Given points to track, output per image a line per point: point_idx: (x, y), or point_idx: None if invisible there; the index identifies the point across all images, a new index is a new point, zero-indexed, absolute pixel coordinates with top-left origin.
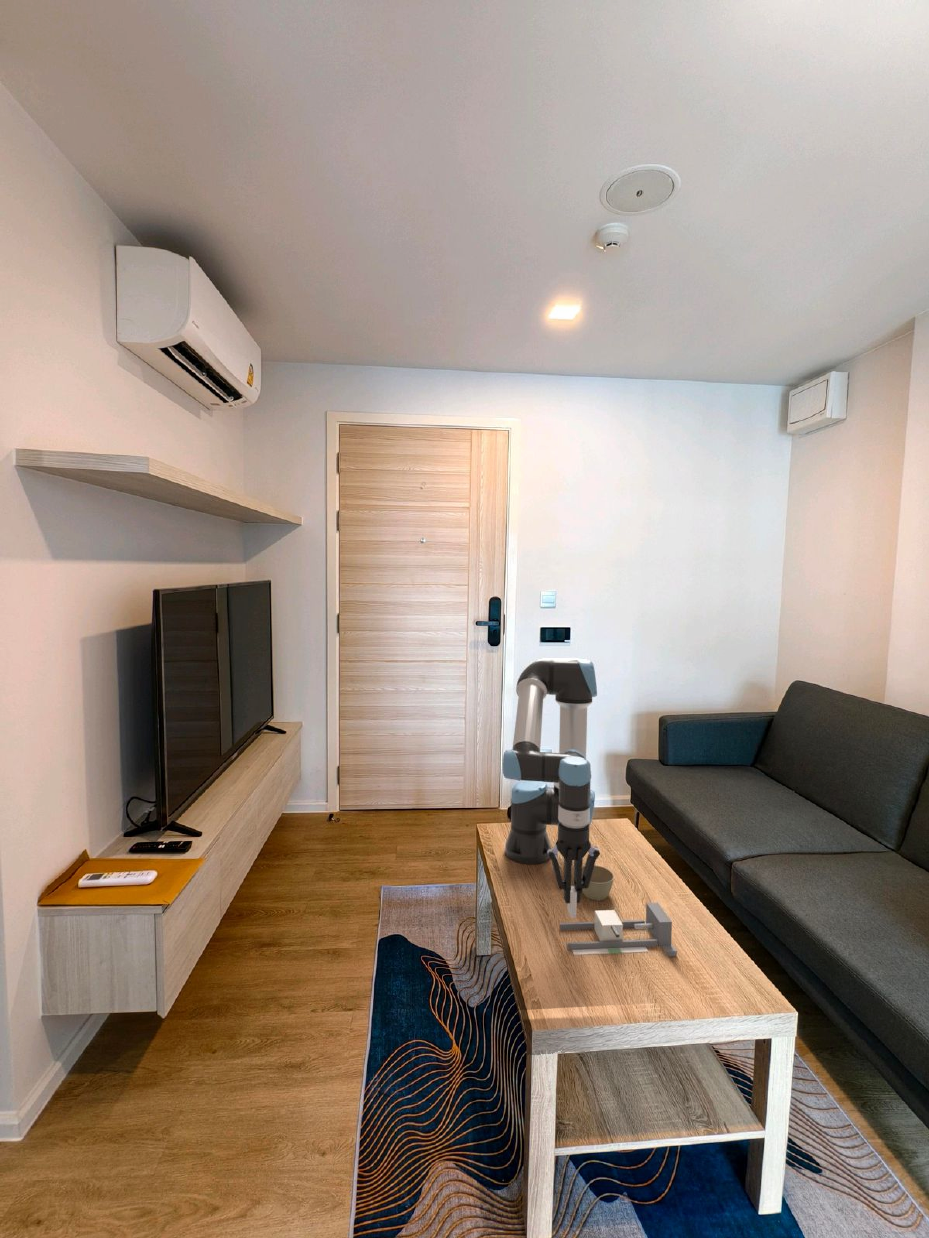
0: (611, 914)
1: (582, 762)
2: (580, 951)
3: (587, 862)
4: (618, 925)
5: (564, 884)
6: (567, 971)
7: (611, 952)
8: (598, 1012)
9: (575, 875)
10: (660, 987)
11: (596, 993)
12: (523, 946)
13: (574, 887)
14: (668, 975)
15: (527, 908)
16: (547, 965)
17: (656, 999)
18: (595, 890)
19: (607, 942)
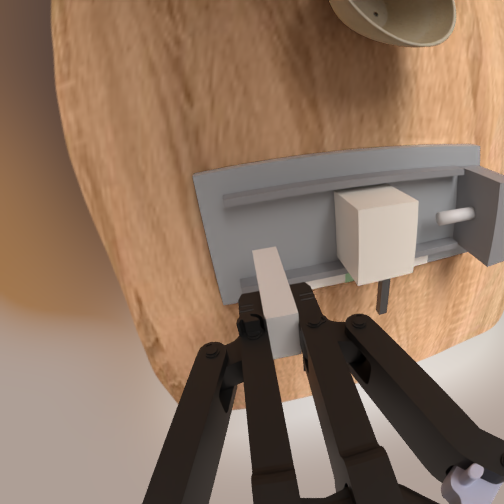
0: (402, 226)
1: None
2: None
3: (419, 429)
4: (400, 274)
5: (242, 379)
6: (235, 324)
7: (350, 280)
8: (279, 390)
9: (316, 394)
10: (400, 328)
11: (285, 362)
12: (126, 260)
13: (298, 326)
14: (426, 299)
15: (124, 77)
16: (190, 314)
17: None
18: (381, 41)
19: None
